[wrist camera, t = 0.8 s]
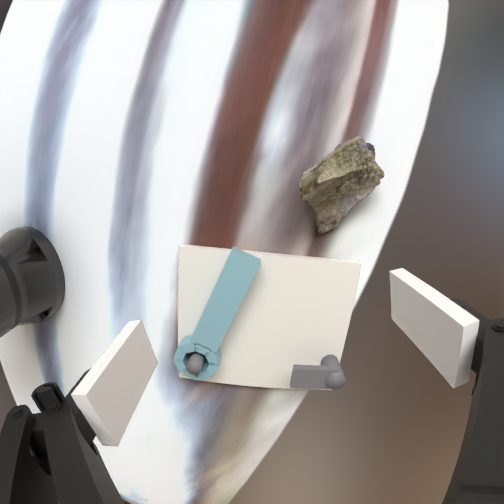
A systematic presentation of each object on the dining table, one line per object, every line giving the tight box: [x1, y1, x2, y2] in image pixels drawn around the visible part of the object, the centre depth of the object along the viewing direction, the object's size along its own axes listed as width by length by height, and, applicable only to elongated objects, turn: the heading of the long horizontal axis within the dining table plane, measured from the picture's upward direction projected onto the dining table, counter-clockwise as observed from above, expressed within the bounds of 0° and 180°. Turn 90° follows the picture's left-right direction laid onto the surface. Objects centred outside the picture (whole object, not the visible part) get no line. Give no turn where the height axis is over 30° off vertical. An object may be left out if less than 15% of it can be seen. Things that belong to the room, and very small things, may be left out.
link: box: [173, 246, 261, 381], centre depth 36 cm, size 18×6×2 cm, turn 155°
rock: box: [299, 137, 384, 233], centre depth 32 cm, size 11×6×10 cm
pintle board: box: [178, 245, 361, 390], centre depth 36 cm, size 22×19×6 cm
